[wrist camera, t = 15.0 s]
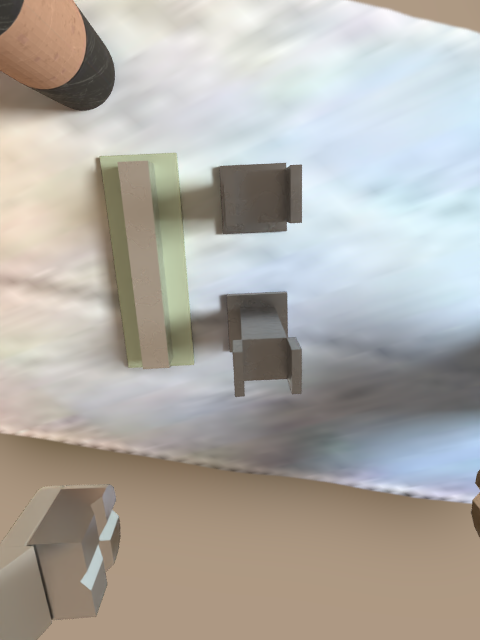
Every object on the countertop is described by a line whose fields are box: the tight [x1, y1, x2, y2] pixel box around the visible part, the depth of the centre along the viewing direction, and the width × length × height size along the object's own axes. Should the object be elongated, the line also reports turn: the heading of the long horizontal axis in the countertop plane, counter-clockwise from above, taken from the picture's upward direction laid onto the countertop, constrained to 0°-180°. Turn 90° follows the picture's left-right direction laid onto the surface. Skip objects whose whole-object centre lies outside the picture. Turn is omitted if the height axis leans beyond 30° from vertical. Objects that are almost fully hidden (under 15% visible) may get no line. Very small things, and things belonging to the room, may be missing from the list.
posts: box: [220, 163, 302, 397], centre depth 37 cm, size 7×21×15 cm, turn 3°
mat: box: [100, 153, 194, 368], centre depth 44 cm, size 8×24×1 cm, turn 3°
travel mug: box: [0, 0, 115, 110], centre depth 29 cm, size 8×8×20 cm
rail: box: [117, 161, 173, 369], centre depth 42 cm, size 3×22×3 cm, turn 3°
